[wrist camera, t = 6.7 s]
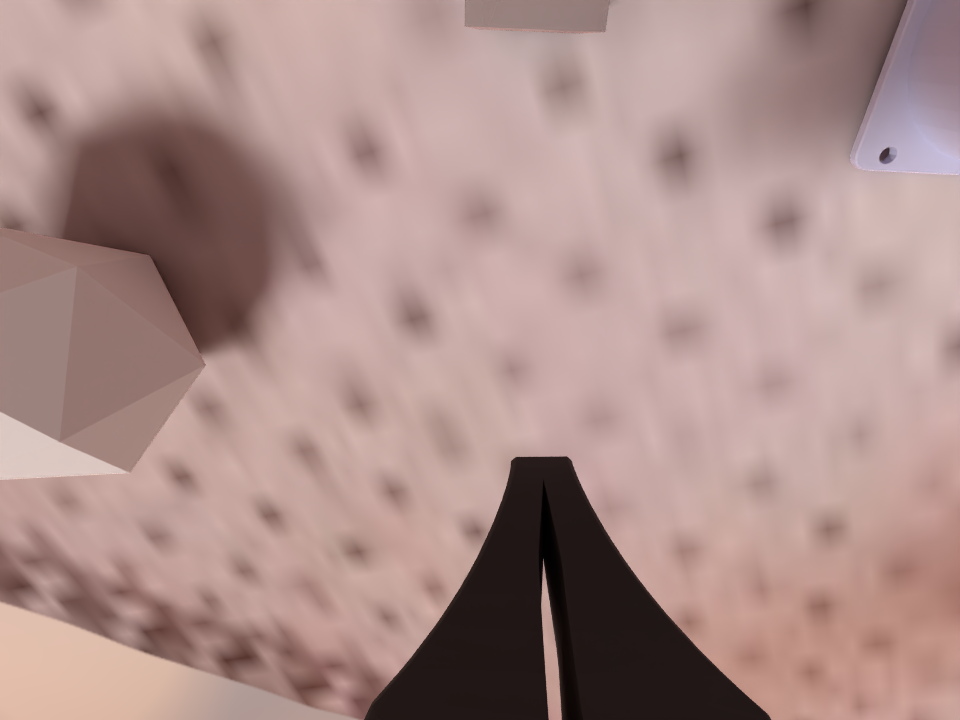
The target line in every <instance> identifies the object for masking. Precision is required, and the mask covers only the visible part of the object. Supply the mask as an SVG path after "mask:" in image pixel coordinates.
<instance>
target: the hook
mask: <svg viewBox="0 0 960 720" xmlns="http://www.w3.org/2000/svg"><path fill="white" fill-rule="evenodd" d="M608 7H609V0H465V26H466V27H471V28H475V29H486V30H510V31H534V32H558V33H597V32H605V30H606V22H607V15H608Z"/></svg>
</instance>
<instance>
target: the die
mask: <svg viewBox="0 0 960 720" xmlns="http://www.w3.org/2000/svg"><path fill="white" fill-rule="evenodd" d="M205 365H206V364H205V362H204V360H203V359H202V357H201V355H200V353H199V351H198V349H197V347H196V345H195V343H194V341H193V339H192V337H191V335H190V333H189V331H188V329H187V327H186V325H185V323H184V321H183V319H182V317H181V315H180V313H179V312H178V310H177V308H176V306H175V304H174V302H173V300H172V298H171V296H170V294H169V292H168V290H167V288H166V286H165V284H164V282H163V280H162V278H161V276H160V274H159V272H158V270H157V268H156V267H155V265H154V263H153V261H152V259H151V257H150V255H146V254H140V253H135V252H130V251H124V250H119V249H113V248H108V247H103V246H97V245H92V244H87V243H81V242H76V241H71V240H65V239H60V238H55V237H49V236H44V235H39V234H33V233H28V232H23V231H17V230H12V229H7V228H1V227H0V480H6V479H24V478H43V477H62V476H81V475H100V474H119V473H130V472H131V471H132V469H133V468H134V466H135V465H136V464H137V462H138V461H139V459H140V458H141V456H142V455H143V454H144V452H145V451H146V449H147V448H148V446H149V445H150V444H151V442H152V441H153V439H154V438H155V436H156V435H157V434H158V432H159V431H160V429H161V428H162V426H163V425H164V424H165V422H166V421H167V419H168V418H169V416H170V415H171V414H172V412H173V411H174V409H175V408H176V406H177V405H178V404H179V402H180V401H181V399H182V398H183V396H184V395H185V394H186V392H187V391H188V389H189V388H190V386H191V385H192V384H193V382H194V381H195V379H196V378H197V376H198V375H199V374H200V372H201V371H202V369H203V368H204V366H205Z"/></svg>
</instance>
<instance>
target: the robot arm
mask: <svg viewBox="0 0 960 720" xmlns="http://www.w3.org/2000/svg"><path fill="white" fill-rule="evenodd" d="M888 147H889V148H890V152H889V155H888V156H887V158H885V159H884V160H883V161H880V160H879V156H880V154H881V152H882V151H883V150H884V149H886V148H888ZM850 161H851V164H852V165H853V166H854V167H856V168H858V169H862V170H865V171H886V172H907V173H928V174H948V175H960V0H908V2H907V4H906V7H905V10H904V12H903V15H902V18H901V20H900V23H899V26H898V28H897V31H896V33H895V36H894V39H893V41H892V44H891V47H890V49H889V52H888V55H887V57H886V60H885V63H884V65H883V68H882V71H881V73H880V76H879V79H878V81H877V84H876V87H875V89H874V92H873V95H872V97H871V100H870V103H869V105H868V108H867V111H866V113H865V116H864V119H863V121H862V124H861V127H860V129H859V132H858V135H857V137H856V140H855V142H854V145H853V148H852V150H851V154H850ZM543 559H544V566H545V573H546V580H547V587H548V593H549V600H550V607H551V614H552V620H553V627H554V634H555V641H556V648H557V657H558V666H559V680H560V696H561V712H562V720H771V718H770V717H769V715H768V714H767V713H766V712H765V711H764V710H762V709H761V708H760V707H759V706H758V705H757V704H756V703H755V702H753V701H752V700H751V699H750V698H749V697H748V696H747V695H746V694H744V693H743V692H742V691H741V690H740V689H739V688H738V687H737V686H736V685H735V684H734V683H733V682H732V681H731V680H729V679H728V678H727V677H726V676H725V675H724V674H723V673H722V672H721V671H720V670H719V669H718V668H717V667H716V666H715V665H714V664H713V663H712V662H711V661H710V660H709V659H708V658H707V657H706V656H705V655H704V654H703V653H702V652H701V651H700V650H699V649H698V648H697V647H696V646H695V645H694V644H693V642H692V641H691V640H690V639H689V638H688V637H687V636H686V635H685V634H684V633H683V632H682V630H681V629H680V628H679V627H678V626H677V625H676V624H675V623H674V622H673V621H672V619H671V618H670V617H669V616H668V615H667V614H666V613H665V612H664V610H663V609H662V608H661V607H660V606H659V604H658V603H657V602H656V601H655V600H654V598H653V597H652V596H651V595H650V593H649V592H648V591H647V590H646V588H645V587H644V586H643V584H642V583H641V582H640V580H639V579H638V578H637V577H636V575H635V574H634V573H633V571H632V570H631V568H630V567H629V566H628V564H627V563H626V561H625V560H624V558H623V557H622V555H621V554H620V552H619V551H618V549H617V548H616V546H615V545H614V543H613V542H612V540H611V539H610V537H609V535H608V534H607V532H606V531H605V529H604V527H603V525H602V524H601V522H600V520H599V519H598V517H597V515H596V513H595V512H594V510H593V508H592V506H591V504H590V502H589V500H588V499H587V497H586V494H585V492H584V490H583V488H582V486H581V484H580V482H579V480H578V477H577V475H576V472H575V470H574V467H573V464H572V461H571V460H570V459H569V458H568V457H516V458H514V459H513V460H512V461H511V469H510V474H509V478H508V482H507V486H506V489H505V492H504V495H503V499H502V501H501V504H500V507H499V509H498V512H497V514H496V517H495V520H494V522H493V525H492V527H491V529H490V531H489V533H488V536H487V538H486V540H485V542H484V544H483V546H482V548H481V551H480V553H479V555H478V557H477V559H476V560H475V562H474V564H473V566H472V568H471V570H470V572H469V573H468V575H467V577H466V579H465V580H464V582H463V584H462V585H461V587H460V589H459V590H458V592H457V594H456V595H455V597H454V598H453V600H452V601H451V603H450V605H449V606H448V608H447V609H446V611H445V612H444V614H443V615H442V617H441V618H440V620H439V621H438V622H437V624H436V625H435V627H434V628H433V629H432V631H431V632H430V633H429V635H428V636H427V637H426V639H425V640H424V641H423V643H422V644H421V645H420V647H419V648H418V649H417V650H416V652H415V653H414V654H413V656H412V657H411V658H410V660H409V661H408V662H407V663H406V664H405V666H404V667H403V668H402V669H401V670H400V672H399V673H398V674H397V675H396V676H395V677H394V678H393V680H392V681H391V682H390V683H389V684H388V685H387V686H386V687H385V689H384V690H383V691H382V692H381V693H380V694H379V695H378V697H377V698H376V699H375V700H374V701H373V702H372V704H371V706H370V708H369V710H368V713H367V715H366V717H365V719H364V720H549V719H548V705H547V690H546V676H545V661H544V645H543V630H542V613H541V597H542V575H543Z"/></svg>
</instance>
